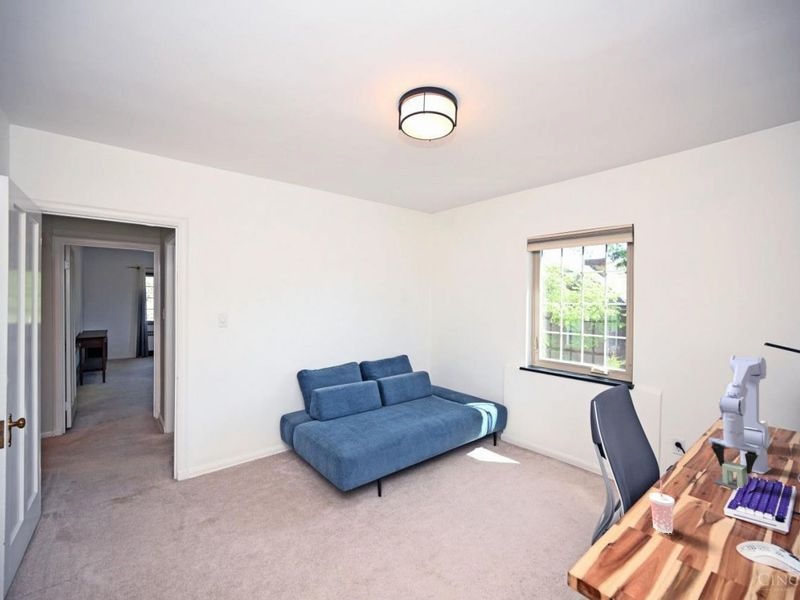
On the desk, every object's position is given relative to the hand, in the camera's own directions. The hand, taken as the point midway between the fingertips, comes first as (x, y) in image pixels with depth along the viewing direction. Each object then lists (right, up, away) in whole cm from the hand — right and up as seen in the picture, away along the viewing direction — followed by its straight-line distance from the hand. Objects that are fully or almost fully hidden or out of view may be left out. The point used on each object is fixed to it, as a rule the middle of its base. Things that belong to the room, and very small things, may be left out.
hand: (735, 469), depth 136 cm
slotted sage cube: (0, -5, 0) cm, 5 cm away
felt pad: (0, -5, 0) cm, 5 cm away
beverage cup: (-45, -6, -27) cm, 52 cm away
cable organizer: (+39, -6, +37) cm, 54 cm away
